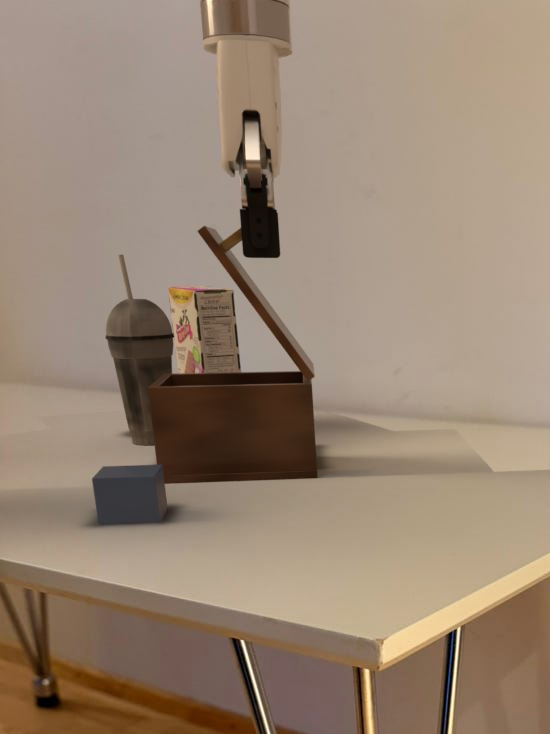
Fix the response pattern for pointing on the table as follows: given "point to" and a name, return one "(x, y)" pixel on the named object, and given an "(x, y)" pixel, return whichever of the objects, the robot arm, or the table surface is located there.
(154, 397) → the chest
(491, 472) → the table surface
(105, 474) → the block
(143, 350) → the beverage cup
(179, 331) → the candy bar box
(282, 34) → the robot arm
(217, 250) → the lid
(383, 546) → the table surface
